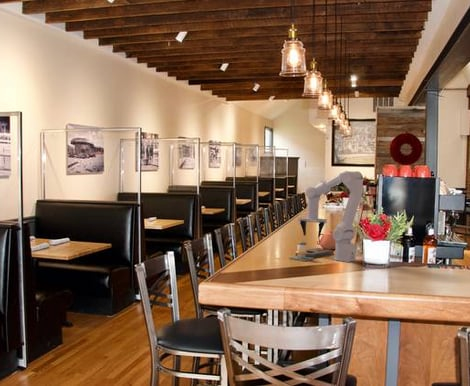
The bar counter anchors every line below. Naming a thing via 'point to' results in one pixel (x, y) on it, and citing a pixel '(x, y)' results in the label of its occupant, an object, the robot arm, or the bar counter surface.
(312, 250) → the grey lever panel
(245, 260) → the bar counter surface
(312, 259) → the mat
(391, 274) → the bar counter surface
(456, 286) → the bar counter surface
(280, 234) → the bar counter surface
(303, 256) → the plug
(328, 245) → the sugar bowl
